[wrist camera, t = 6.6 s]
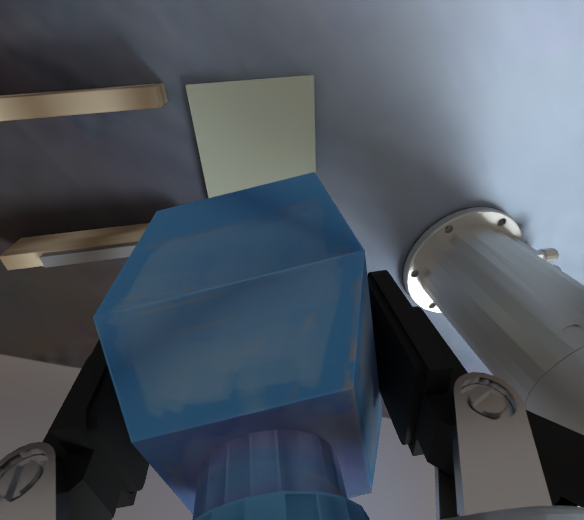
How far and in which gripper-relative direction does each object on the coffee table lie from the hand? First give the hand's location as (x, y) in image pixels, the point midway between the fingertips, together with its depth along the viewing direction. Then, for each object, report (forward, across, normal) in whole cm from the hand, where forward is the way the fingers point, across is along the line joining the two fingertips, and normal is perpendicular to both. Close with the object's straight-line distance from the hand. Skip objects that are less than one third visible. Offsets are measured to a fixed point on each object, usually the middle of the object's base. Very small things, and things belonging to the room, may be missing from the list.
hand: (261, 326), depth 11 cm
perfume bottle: (+4, 0, 0) cm, 4 cm away
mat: (+19, -1, -1) cm, 19 cm away
